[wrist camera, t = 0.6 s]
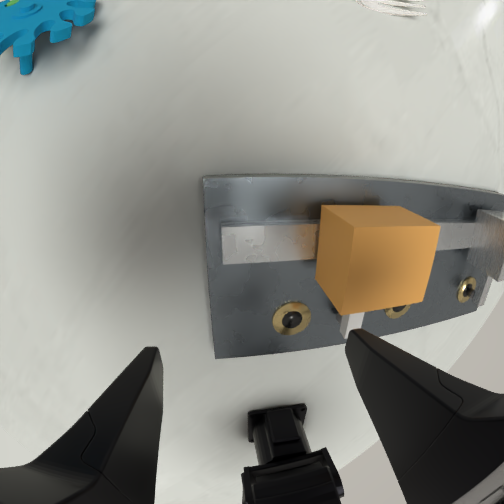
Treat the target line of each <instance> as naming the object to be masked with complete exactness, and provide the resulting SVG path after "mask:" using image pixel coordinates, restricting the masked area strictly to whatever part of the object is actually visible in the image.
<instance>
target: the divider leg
mask: <svg viewBox="0 0 504 504" xmlns="http://www.w3.org/2000/svg"><path fill="white" fill-rule="evenodd" d="M440 227H441V226H440V225H438V224H436V223H434V222H432V221H430V220H428V219H426V218H424V217H422V216H420V215H418V214H415V213H413V212H411V211H409V210H407V209H405V208H403V207H401V206H376V205H321V219H320V232H319V243H318V254H317V264H316V274H315V279H316V281H317V282H318V284H319V285H320V287H321V288H322V289H323V291H324V292H325V294H326V295H327V296H328V298H329V299H330V301H331V302H332V304H333V305H334V307H335V308H336V309H337V311H338V312H339V313H338V314H337V315H336V320H337V321H338V323H339V324H340V333H341V334H342V336H343V337H344V339H347V338H348V334H349V331H350V330H352V329H357V328H361V325H362V321H363V317H364V313H365V312H368V311H374V310H380V309H386V308H391V307H397V306H402V305H408V304H413V303H418V302H422V301H423V298H424V294H425V291H426V287H427V284H428V280H429V276H430V272H431V269H432V265H433V260H434V256H435V252H436V247H437V243H438V238H439V233H440Z"/></svg>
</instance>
